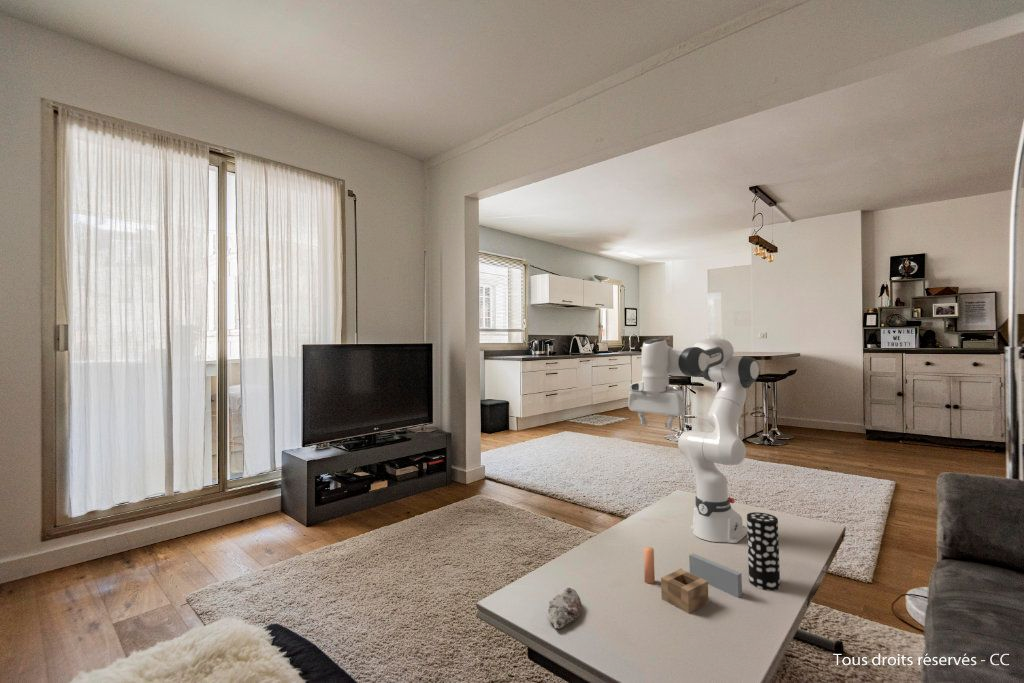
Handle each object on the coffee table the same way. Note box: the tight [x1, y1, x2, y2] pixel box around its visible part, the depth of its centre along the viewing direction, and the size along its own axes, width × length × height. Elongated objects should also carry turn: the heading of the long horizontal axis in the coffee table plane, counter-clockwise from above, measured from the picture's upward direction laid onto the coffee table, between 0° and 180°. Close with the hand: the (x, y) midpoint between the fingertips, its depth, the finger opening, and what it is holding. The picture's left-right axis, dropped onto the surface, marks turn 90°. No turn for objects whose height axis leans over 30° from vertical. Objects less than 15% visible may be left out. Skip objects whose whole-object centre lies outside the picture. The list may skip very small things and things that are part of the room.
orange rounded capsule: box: [643, 546, 656, 585], centre depth 142 cm, size 3×3×10 cm
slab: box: [688, 552, 743, 599], centre depth 139 cm, size 2×16×6 cm, turn 33°
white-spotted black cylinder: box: [746, 511, 781, 591], centre depth 140 cm, size 8×8×20 cm
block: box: [660, 568, 710, 614], centre depth 131 cm, size 9×9×6 cm
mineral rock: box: [546, 587, 582, 629], centre depth 125 cm, size 15×8×4 cm, turn 140°
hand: (656, 426), depth 156 cm, fingers open, 8 cm apart
